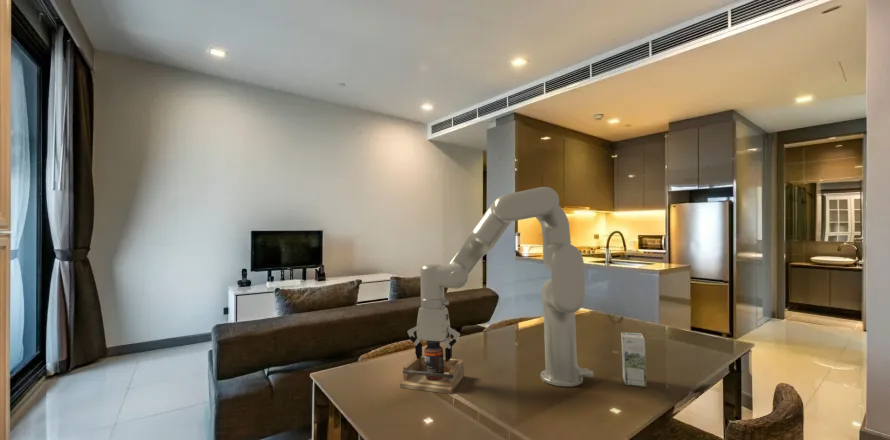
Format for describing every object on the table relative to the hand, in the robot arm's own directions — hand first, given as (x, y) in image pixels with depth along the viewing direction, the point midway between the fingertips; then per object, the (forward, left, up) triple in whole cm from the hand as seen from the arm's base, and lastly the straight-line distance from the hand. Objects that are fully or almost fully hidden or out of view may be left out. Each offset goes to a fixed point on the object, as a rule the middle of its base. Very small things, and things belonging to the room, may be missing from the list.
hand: (433, 358), depth 114 cm
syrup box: (-59, -15, -7) cm, 61 cm away
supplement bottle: (0, 0, -6) cm, 6 cm away
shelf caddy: (0, +1, -7) cm, 7 cm away
